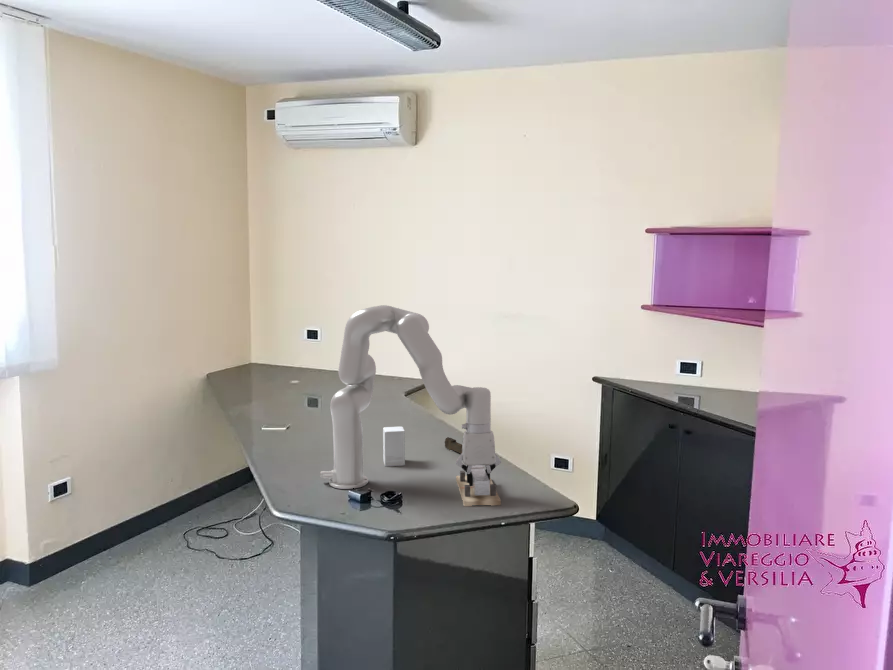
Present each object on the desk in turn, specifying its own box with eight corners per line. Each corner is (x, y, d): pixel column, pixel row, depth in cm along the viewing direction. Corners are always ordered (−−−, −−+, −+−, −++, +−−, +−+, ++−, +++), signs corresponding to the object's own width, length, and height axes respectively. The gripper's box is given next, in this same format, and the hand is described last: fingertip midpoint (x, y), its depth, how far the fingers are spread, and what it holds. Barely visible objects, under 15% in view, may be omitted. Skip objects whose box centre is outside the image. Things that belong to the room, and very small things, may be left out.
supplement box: (405, 465, 241) (405, 431, 240) (384, 466, 240) (384, 431, 238) (403, 459, 248) (402, 425, 247) (383, 460, 247) (382, 426, 246)
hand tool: (478, 458, 250) (478, 446, 250) (469, 460, 248) (469, 447, 248) (451, 447, 266) (451, 435, 266) (442, 448, 264) (442, 436, 264)
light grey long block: (474, 495, 202) (474, 481, 202) (467, 476, 220) (467, 462, 219) (489, 495, 203) (489, 480, 202) (481, 475, 220) (481, 462, 220)
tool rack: (464, 506, 201) (464, 491, 201) (456, 480, 225) (456, 467, 225) (500, 505, 202) (500, 490, 202) (488, 479, 226) (489, 466, 225)
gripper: (452, 431, 205) (452, 489, 207) (507, 429, 206) (507, 487, 208) (450, 425, 212) (450, 481, 214) (503, 424, 214) (503, 480, 216)
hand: (478, 484), depth 211 cm, fingers closed on light grey long block, 4 cm apart
